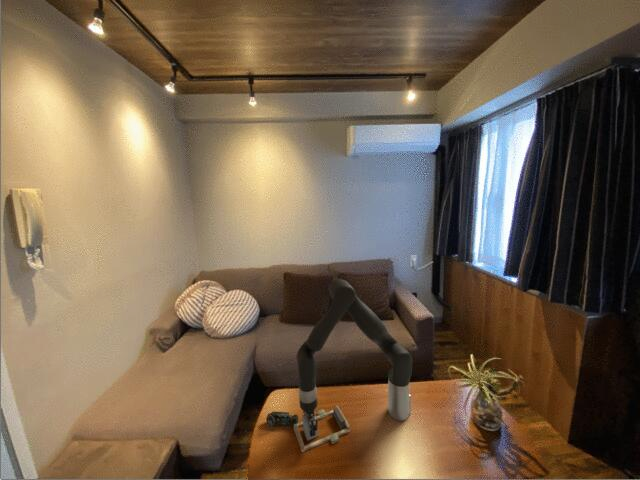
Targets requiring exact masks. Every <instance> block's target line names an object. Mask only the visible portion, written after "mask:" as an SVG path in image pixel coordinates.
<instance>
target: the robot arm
mask: <svg viewBox="0 0 640 480" xmlns="http://www.w3.org/2000/svg"><path fill="white" fill-rule="evenodd" d="M328 288H329V289H328V292H329V296H330V297H331V299H332V301H331V303H330V307H329V309H328V311H327V312H326V313H325V314H324V316H323V317H321V318H320V319H319V320H318V321H317V323H316V324H315V325H314V327H313V328H312V330H311V332H310V334H309V335H308V338H307V339H306V340H305V341H304V342H303V344H301V346H300V347H299V348H298V351H297V353H296V361H297V362H296V363H297V369H298V395H299V397H298V398H299V408H300V410H302V413H303V415H306V417H307V423H308V424H309V429H310V436H311V437H312V436H315V431H316V430H317V425H318V420H317V419H316V418H315V416H316V409H317V407H318V401H319V400H318V390H317V384H316V383H317V382H316V379H317V378H316V360H315V356H314V355H315V354H316V352H321V350H322V349H323V348H324V346H325V345H326V342H327V341H328V338H329V337H330V335H331V333H332V332H333V330H334V328H335V327H336V326H337V324H338V323H339V321H340V320H341V319H342V317H344V315H345V314H346V312H347V313H348V315H349V316H350V318H351V319H352V320H353V322H354V323H355V325H356V326H357V327H358V329H359V330H360V331H361V333H363V334H364V335H365V337H367V338H368V339H369V340H370V341H371V342H372V343H375V345H377V346H378V347H379V349H380V350H381V351H382V353H383V355H384V356H385V357H386V359H387V360H388V361H389V363H390V364H391V366H392V368H391V369H389V371H388V374H387V379H388V381H387V382H388V383H387V385H388V386H387V387H388V390H387V392H388V394H387V395H388V396H387V403H388V407H387V410H388V415H389V417H391V418H392V419H394V420H396V421H401V422H403V421H406V420H407V419H409V417H410V415H411V414H412V396H411V394H410V380H411V378H412V374H413V373H412V371H413V356H412V354H411V352H409V351H408V350H407V349H406V348H405V347H404V346H403V345H402V344H401V343H400V342H399V341H397V340H396V339H395V338H394V336H392V335H391V334H390V333H389V331H388V329H387V327H386V326H385V324H384V322H383V321H382V320H381V319H380V318H379V317H378V316H377V314H376V313H375V312H374V311H373V310H372V309H371V308H370V307H369V306H368V305H367V304H366V303H364V302H363V301H362V300H361V299H360V298H359V297H358V295H357V294H356V290H355V288H353V286H352V285H351V284H350V283H349V282H348V281H347V280H344V279H340V278H337V279H335V280H332V281H331V283H330V284H329V287H328ZM311 419H312V420H311ZM309 420H310V421H309ZM318 426H319V425H318Z"/></svg>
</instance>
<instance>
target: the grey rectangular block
mask: <svg viewBox="0 0 640 480" xmlns="http://www.w3.org/2000/svg"><path fill="white" fill-rule="evenodd" d="M316 416H317V415H315V418H316ZM301 417H302V422H303V426H302V428H303V431H302V432H303V433H304V436H305V438H306V441H307V442H308V441H311V440H314V439H315V438H317V437H319V429H318V428H319V425H317V430H316V431H315V436H312V437H311V436H310V429H309V424H308V423H307V417H306V415H304V414H302V415H301ZM311 420H312V419H311ZM309 421H310V420H309Z"/></svg>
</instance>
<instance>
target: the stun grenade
mask: <svg viewBox="0 0 640 480" xmlns="http://www.w3.org/2000/svg"><path fill="white" fill-rule="evenodd" d="M265 419H266V421H265V422H266V425H267V426H268V428H269V429H270V431H271V432H272V431H273V430H274V428H273V427H274V426H277V425H279V426H291V427H292V428H294V424H296V423H297V424H298V423H299V415H298V414H291V415H290V411H275V410H274V411H271V412H269V413H267V415H266V418H265Z"/></svg>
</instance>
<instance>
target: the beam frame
mask: <svg viewBox="0 0 640 480" xmlns="http://www.w3.org/2000/svg"><path fill="white" fill-rule="evenodd" d="M331 415H333V417H334V419H335V421H336V423H337V425H338V426H339V429H340V430H339V431H337V432H333V433H331V434H329V435H327V436H325V437H323V438H320V439H317V440H315V441H313V442H310V443H309V444H306V445H305V443H304V441H303V437H302V434H301V432H300V429H299V428H302V427H303V421H300V422H298V424H297V423H296V424H294V427H293V430H294V433H295V435H296V439H297V441H298V445H299V447H300V451H301V453H304V452H306V451H309V450H311V449H313V448H315V447H317V446H320V445H323V444H325V443H327V442H329V441H330V442H331V445H333V444H336V443H338V442H340V440H339V439H340V438H339V437H341V436H343V435H345V434H347V433H350V432H351V425H350V424H349V422H348V421H347V418H345V415H344V413H343V412H342V410H341V408H340V407H339V405H335V407H333V409H331V410H329V411H325V409H324V408H323V409H319V410H317V415H315V416H316V419H317V420H322V419H324V418H327V417H329V416H331Z"/></svg>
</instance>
